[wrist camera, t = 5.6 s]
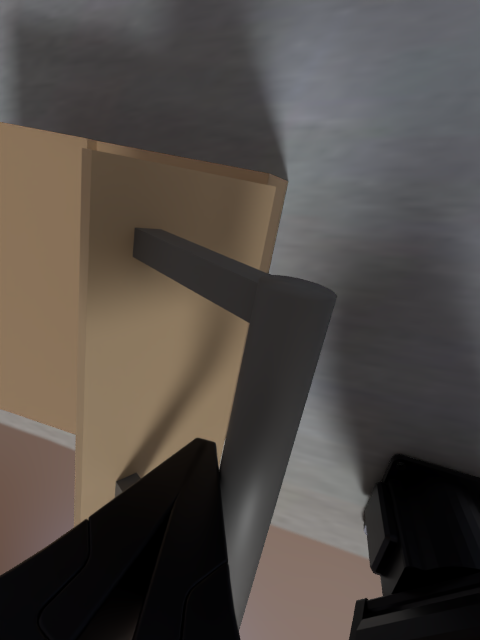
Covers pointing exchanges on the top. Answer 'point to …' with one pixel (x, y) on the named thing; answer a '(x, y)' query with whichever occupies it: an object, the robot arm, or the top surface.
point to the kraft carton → (60, 263)
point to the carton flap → (188, 341)
